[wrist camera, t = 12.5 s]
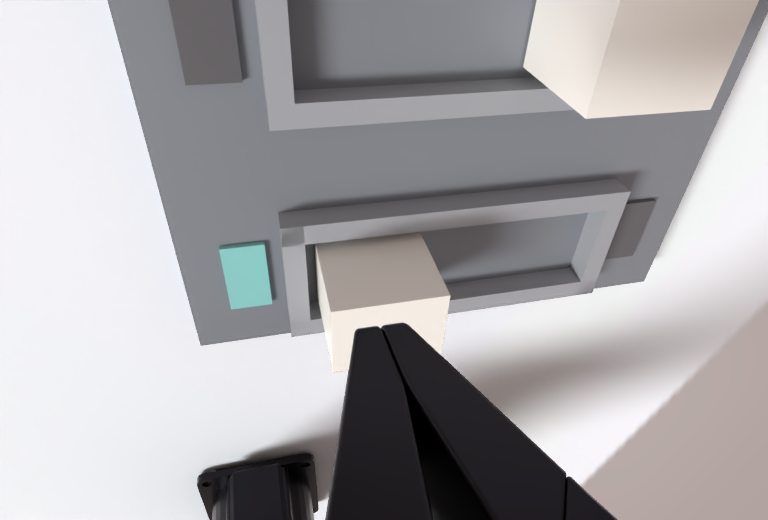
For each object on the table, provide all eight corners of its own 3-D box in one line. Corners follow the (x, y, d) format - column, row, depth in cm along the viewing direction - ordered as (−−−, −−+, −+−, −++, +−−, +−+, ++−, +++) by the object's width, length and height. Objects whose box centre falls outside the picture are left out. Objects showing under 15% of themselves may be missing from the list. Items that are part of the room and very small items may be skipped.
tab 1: (411, 283, 23) (441, 355, 20) (317, 296, 22) (333, 373, 19) (417, 225, 21) (450, 295, 18) (313, 237, 20) (330, 312, 17)
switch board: (629, 265, 27) (656, 294, 26) (201, 324, 23) (200, 364, 21) (793, -117, 17) (854, -110, 15) (81, -136, 13) (61, -130, 11)
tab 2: (630, 61, 18) (710, 109, 15) (523, 67, 18) (585, 118, 15) (662, -37, 16) (761, -5, 13) (543, -36, 16) (620, -1, 13)
